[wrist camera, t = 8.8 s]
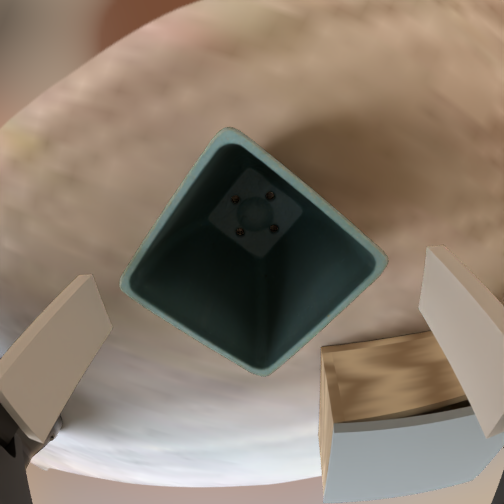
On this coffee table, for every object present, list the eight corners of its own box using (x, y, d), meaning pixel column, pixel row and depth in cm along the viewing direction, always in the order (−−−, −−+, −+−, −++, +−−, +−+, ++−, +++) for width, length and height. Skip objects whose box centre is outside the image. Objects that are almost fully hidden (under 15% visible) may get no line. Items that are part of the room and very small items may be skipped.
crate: (318, 434, 31) (323, 494, 24) (320, 347, 26) (333, 422, 18) (444, 410, 30) (464, 460, 22) (479, 320, 24) (519, 375, 17)
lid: (324, 483, 25) (323, 503, 23) (333, 405, 19) (333, 433, 17) (474, 461, 22) (478, 478, 20) (532, 373, 16) (543, 393, 14)
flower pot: (348, 204, 21) (395, 263, 12) (266, 293, 24) (263, 382, 15) (244, 119, 19) (225, 120, 11) (168, 223, 22) (114, 287, 14)
